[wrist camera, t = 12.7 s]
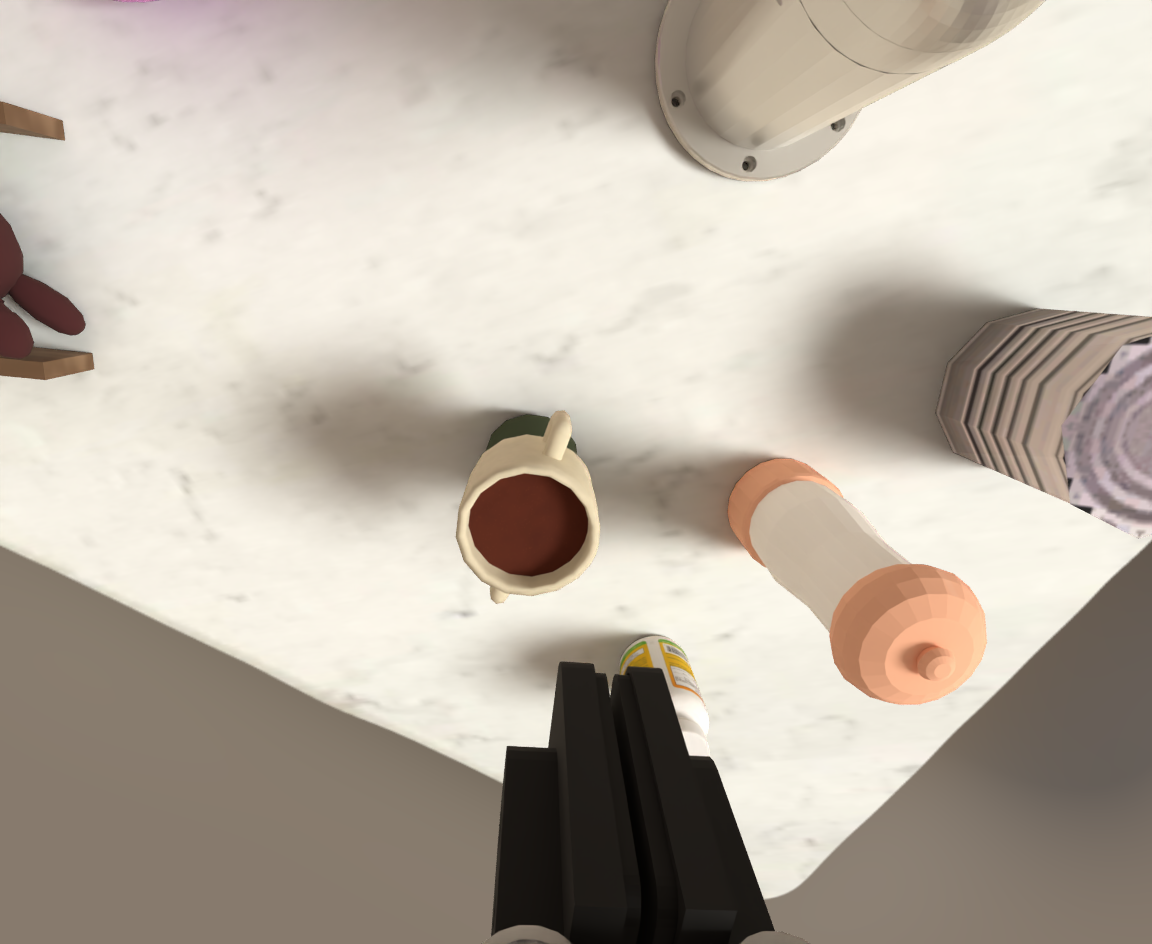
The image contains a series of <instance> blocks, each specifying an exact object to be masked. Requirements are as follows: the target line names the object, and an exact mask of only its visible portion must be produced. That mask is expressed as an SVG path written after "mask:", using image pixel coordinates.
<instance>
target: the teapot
mask: <svg viewBox="0 0 1152 944" xmlns="http://www.w3.org/2000/svg"><path fill="white" fill-rule="evenodd" d="M115 1H121V2H149V1H157V0H115Z"/></svg>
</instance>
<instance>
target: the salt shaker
mask: <svg viewBox="0 0 1152 944" xmlns="http://www.w3.org/2000/svg"><path fill="white" fill-rule="evenodd" d="M727 513H728V518H729V522H730V527H731V528H732V530H733V531H734V533H735V535H736V536H737V538H738V539H739V540H740V542H741V543H742V544H743V546H744V547H745V549H746V550H747V551H748V553H749V554H750V555H751V557H752V558H753V559H754V560H756V561H757V562H758V563H760V564H761V565H762V566H764V567H766V568H767V569H768V570H769V572H770V573H771V575H772V576H773V578H774V579H775V581H776V582H778V583H779V584H780V585H781V586H783V587H784V588H785V589H786V590H788V591H789V592H790V593H791V594H793V595H794V596H795V597H796V598H798V599H799V600H800V601H801V602H803V603H804V604H805V605H807V606H808V607H809V608H810V609H811V611H812V612H813V613H814V614H815V616H816V617H817V618H818V619H819V620H820V622H821V623H822V624H823V625H824V627H825V628H826V629H827V630H828V631H829V633H830V635H829V636H830V642H831V649H832V654H833V659H834V663H835V665H836V666H837V668H838V669H839V671H840V673H841V674H842V676H843V677H844V679H845V680H847V681H848V682H850V683H851V684H852V685H854V686H855V687H856V688H858V689H859V690H861V691H862V692H863V693H865V694H866V695H868V696H869V697H872V698H875V699H879V700H882V701H885V702H889V703H894V704H922V703H926V702H930V701H933V700H937V699H939V698H941V697H943V696H945V695H947V694H949V693H950V692H952V691H954V690H956V689H957V688H958V687H959V686H960V685H962V684H963V683H964V682H965V681H966V680H967V679H968V678H969V677H970V676H971V675H972V674H973V672H974V671H975V669H976V668H977V666H978V665H979V663H980V662H981V660H982V657H983V654H984V650H985V647H986V643H987V639H986V624H985V613H984V611H983V609H982V607H981V605H980V603H979V601H978V599H977V597H976V596H975V594H974V593H973V592H972V590H971V589H970V587H969V586H968V585H966V584H965V583H964V582H963V581H962V580H961V579H959V578H958V577H957V576H956V575H955V574H953V573H950V572H947V571H944V570H941V569H938V568H935V567H932V566H928V565H923V564H911V563H910V562H909V561H907V560H906V559H905V558H904V557H903V556H901V555H900V554H899V553H898V552H896V551H895V550H894V549H893V548H891V547H890V546H889V545H888V544H887V543H886V542H885V540H884V539H883V538H882V536H881V535H880V534H879V533H878V531H877V530H876V529H875V528H874V526H873V525H872V524H871V523H870V521H869V520H868V519H867V518H866V516H865V515H864V514H863V513H862V512H861V511H860V510H859V509H858V508H856V507H855V506H854V505H853V504H852V503H850V502H849V501H847V500H846V499H844V498H843V496H842V494H841V492H840V490H839V489H838V488H837V487H836V486H835V485H833V484H832V483H831V482H830V481H829V480H827V479H826V478H825V477H823V476H822V475H821V474H819V473H818V472H817V471H815V470H814V469H812V468H811V467H810V466H808V465H807V464H805V463H802V462H799V461H796V460H794V459H773V460H770V461H766V462H763V463H760V464H758V465H757V466H755V467H754V468H752V469H750V470H749V471H747V472H746V473H745V474H744V475H743V477H742V478H741V479H740V480H739V481H738V482H737V483H736V485H735V487H734V489H733V491H732V493H731V495H730V498H729V504H728V512H727Z"/></svg>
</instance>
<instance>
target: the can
mask: <svg viewBox="0 0 1152 944" xmlns="http://www.w3.org/2000/svg"><path fill="white" fill-rule="evenodd" d="M935 413H936V416H937V418H938V420H939V422H940V424H941V427H942V429H943V431H944V433H945V436H946V438H947V440H948V442H949V444H950V447H951V449H952V451H953V452H954V453H956V454H958V455H960V456H963V457H965V458H967V459H970V460H972V461H974V462H976V463H979V464H981V465H983V466H986V467H988V468H990V469H992V470H995V471H997V472H999V473H1002V474H1004V475H1006V476H1009V477H1011V478H1013V479H1015V480H1018V481H1020V482H1022V483H1025V484H1027V485H1029V486H1031V487H1034V488H1036V489H1038V490H1041V491H1043V492H1045V493H1047V494H1050V495H1052V496H1054V497H1057V498H1059V499H1061V500H1063V501H1066V502H1068V503H1070V504H1071V505H1073V506H1075V507H1077V508H1079V509H1081V510H1083V511H1085V512H1087V513H1089V514H1091V515H1093V516H1095V517H1097V518H1099V519H1101V520H1103V521H1105V522H1106V523H1108V524H1110V525H1112V526H1114V527H1116V528H1118V529H1120V530H1122V531H1124V532H1126V533H1128V534H1130V535H1132V536H1134V537H1136V538H1138V539H1139V538H1143V537H1146V536H1150V535H1152V317H1145V316H1131V315H1118V314H1104V313H1091V312H1077V311H1064V310H1050V309H1035V310H1031V311H1027V312H1023V313H1020V314H1016V315H1012V316H1009V317H1005V318H1001V319H998V320H994V321H990V322H987V323H986V324H985V325H984V326H983V327H982V328H981V329H980V330H979V331H978V332H977V333H976V334H975V335H974V336H973V337H972V338H971V339H970V340H969V341H968V342H967V343H966V344H965V345H964V346H963V347H962V349H961V350H960V351H959V352H958V353H957V354H956V355H955V356H954V357H953V358H952V359H951V360H950V361H949V362H948V363H947V367H946V371H945V375H944V379H943V383H942V387H941V391H940V395H939V400H938V404H937V408H936V412H935Z"/></svg>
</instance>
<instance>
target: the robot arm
mask: <svg viewBox="0 0 1152 944" xmlns="http://www.w3.org/2000/svg"><path fill="white" fill-rule="evenodd" d="M1045 1H1046V0H669V2H668V4H667V6H666V8H665V12H664V15H663V18H662V22H661V25H660V28H659V31H658V38H657V46H656V53H655V72H656V85H657V90H658V95H659V100H660V104H661V107H662V110H663V112H664V115H665V117H666V120H667V123H668V125H669V127H670V128H671V130H672V132H673V133H674V135H675V136H676V138H677V140H678V141H679V143H680V144H681V145H682V146H683V147H684V148H685V150H686V151H687V152H688V153H689V154H690V155H691V156H692V157H693V158H694V159H695V160H697V161H698V162H699V163H701V164H702V165H703V166H705V167H706V168H708V169H709V170H711V171H713V172H715V173H718V174H720V175H722V176H725V177H727V178H731V179H736V180H741V181H769V180H773V179H777V178H781V177H786V176H788V175H790V174H793V173H795V172H798V171H801V170H802V169H804V168H806V167H808V166H809V165H811V164H813V163H815V162H816V161H818V160H819V159H821V158H822V157H823V156H824V155H825V154H827V153H828V152H829V151H830V150H831V149H832V148H834V147H835V146H836V145H837V144H838V143H839V141H840V140H841V139H842V138H843V137H844V136H845V135H846V133H847V132H848V131H849V129H850V128H851V126H852V125H853V123H854V121H855V120H856V118H857V116H858V115H859V113H860V111H861V110H862V108H864V107H866V106H868V105H870V104H872V103H874V102H876V101H878V100H880V99H882V98H884V97H886V96H888V95H890V94H892V93H894V92H896V91H898V90H900V89H902V88H904V87H906V86H908V85H910V84H912V83H914V82H916V81H918V80H920V79H922V78H924V77H926V76H928V75H930V74H932V73H934V72H936V71H938V70H940V69H942V68H944V67H946V66H948V65H949V64H951V63H954V62H956V61H958V60H960V59H962V58H964V57H966V56H968V55H970V54H972V53H974V52H976V51H977V50H979V49H981V48H983V47H985V46H987V45H989V44H990V43H992V42H994V41H995V40H997V39H998V38H1000V37H1001V36H1003V35H1005V34H1006V33H1008V32H1009V31H1011V30H1012V29H1013V28H1015V27H1016V26H1017V25H1018V24H1020V23H1021V22H1022V21H1024V20H1025V19H1026V18H1027V17H1028V16H1029V15H1031V14H1032V13H1033V12H1034V11H1035V10H1036V9H1037V8H1038V7H1039V6H1041V5H1042V4H1043V3H1044V2H1045ZM674 98H676V99H677V100H678V101H679V106H678V107H674V106H673V105H672V103H671V100H672V99H674ZM832 123H834V125H835V128H834V130H832V128H831V124H832ZM743 162H746V163H747V164H748V169H747V170H746V171H745V170H744V169H743V168H742V163H743ZM496 864H497V865H496V877H495V891H494V904H493V918H492V933H491V937H490V938H489V939H487V940H486V941H484V942H483V943H482V944H810V943H808V942H807V941H805V940H804V939H802V938H799V937H796V936H793V935H790V934H787V933H784V932H777V931H775V930H774V927H773V924H772V921H771V919H770V916H769V913H768V911H767V907H766V905H765V902H764V899H763V896H762V893H761V891H760V888H759V885H758V882H757V879H756V876H755V874H754V871H753V868H752V865H751V862H750V860H749V857H748V854H747V851H746V848H745V846H744V843H743V840H742V837H741V834H740V832H739V829H738V826H737V823H736V820H735V818H734V815H733V812H732V809H731V806H730V803H729V801H728V798H727V795H726V792H725V789H724V787H723V784H722V781H721V778H720V775H719V773H718V770H717V767H716V765H715V763H714V761H713V760H712V759H711V758H710V757H709V756H691V755H689V753H688V750H687V747H686V743H685V740H684V737H683V734H682V730H681V727H680V724H679V721H678V717H677V714H676V711H675V708H674V704H673V701H672V698H671V695H670V691H669V688H668V685H667V682H666V678H665V675H664V672H663V670H662V669H661V668H652V667H637V666H628V667H627V669H626V671H625V675H618V674H615V675H614V678H613V683H612V689H611V695H610V694H609V688H608V682H607V677H606V674H603V673H595V669H594V665H593V664H591V663H575V662H560V663H559V668H558V675H557V683H556V691H555V698H554V706H553V714H552V722H551V730H550V738H549V746H548V748H536V747H517V746H507V750H506V759H505V769H504V779H503V790H502V800H501V812H500V824H499V836H498V849H497V863H496Z"/></svg>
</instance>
